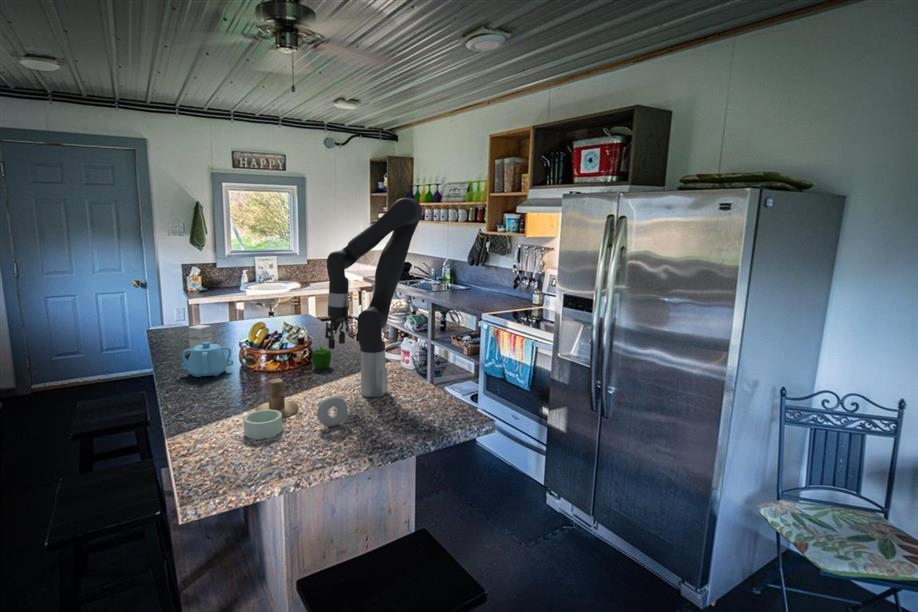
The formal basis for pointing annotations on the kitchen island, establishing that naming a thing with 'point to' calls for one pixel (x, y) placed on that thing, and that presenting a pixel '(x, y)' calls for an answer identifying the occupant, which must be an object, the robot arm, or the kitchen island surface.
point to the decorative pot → (206, 360)
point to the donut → (326, 405)
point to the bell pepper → (321, 358)
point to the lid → (278, 399)
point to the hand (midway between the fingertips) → (336, 346)
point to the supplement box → (199, 335)
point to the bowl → (262, 424)
